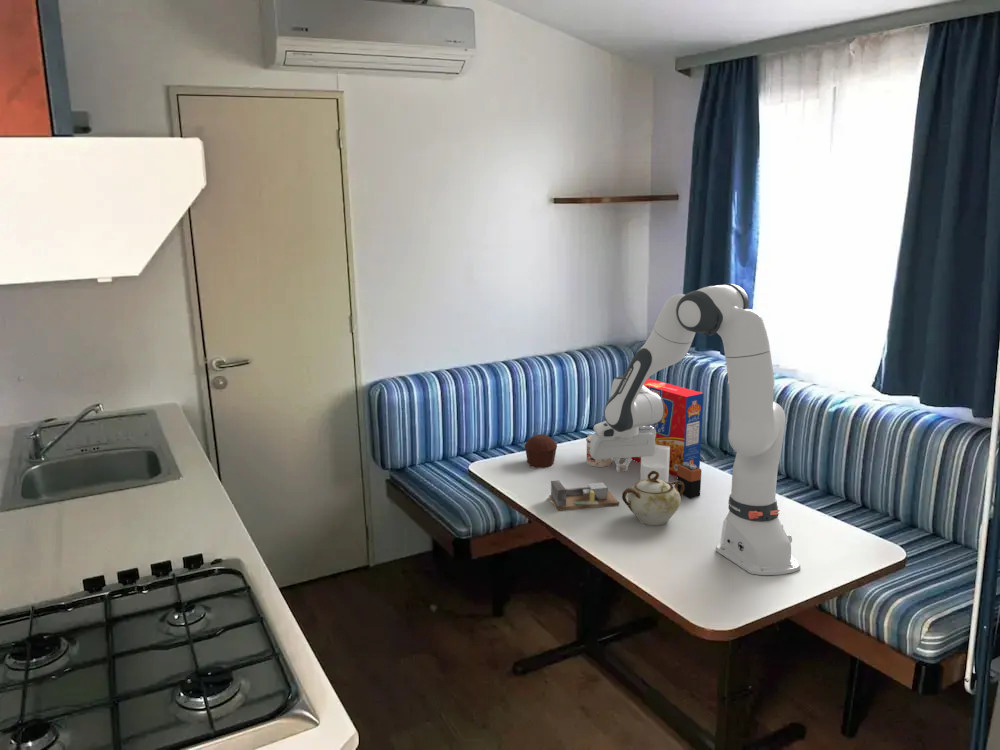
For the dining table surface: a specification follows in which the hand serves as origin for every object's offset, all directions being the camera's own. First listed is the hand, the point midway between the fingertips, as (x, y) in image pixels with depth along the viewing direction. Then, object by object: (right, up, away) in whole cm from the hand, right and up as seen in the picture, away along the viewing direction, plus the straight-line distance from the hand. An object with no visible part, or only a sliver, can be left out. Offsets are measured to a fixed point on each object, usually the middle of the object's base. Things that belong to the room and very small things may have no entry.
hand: (621, 470), depth 247 cm
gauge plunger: (-8, -8, -1) cm, 12 cm away
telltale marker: (-10, -9, -4) cm, 14 cm away
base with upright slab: (+13, -6, +16) cm, 22 cm away
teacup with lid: (-2, -2, +32) cm, 32 cm away
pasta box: (+18, -2, +31) cm, 36 cm away
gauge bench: (-12, -9, 0) cm, 15 cm away
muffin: (-23, -2, +33) cm, 40 cm away
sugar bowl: (+7, -13, -14) cm, 20 cm away
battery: (+21, -8, +5) cm, 24 cm away
